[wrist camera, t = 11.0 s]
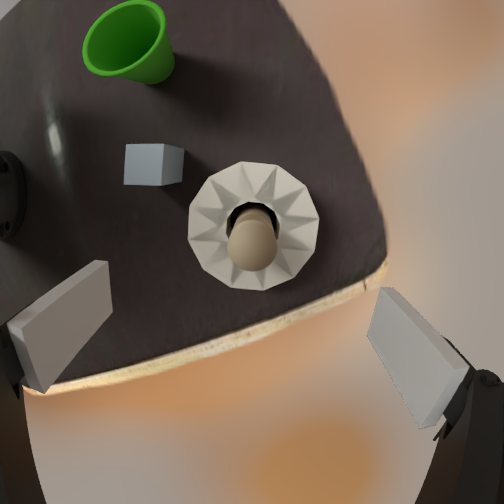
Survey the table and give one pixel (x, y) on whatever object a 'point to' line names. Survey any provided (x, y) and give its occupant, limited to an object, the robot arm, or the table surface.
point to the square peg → (153, 164)
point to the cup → (130, 43)
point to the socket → (261, 191)
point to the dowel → (252, 239)
